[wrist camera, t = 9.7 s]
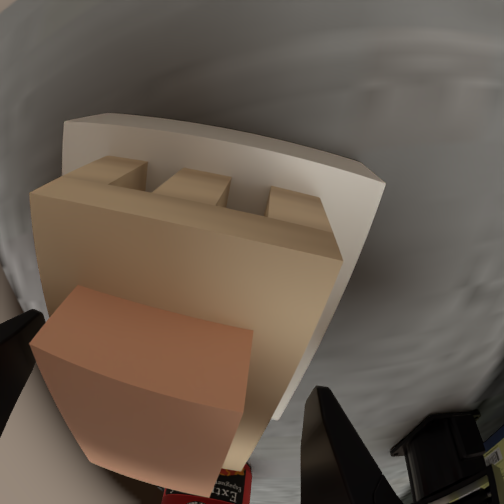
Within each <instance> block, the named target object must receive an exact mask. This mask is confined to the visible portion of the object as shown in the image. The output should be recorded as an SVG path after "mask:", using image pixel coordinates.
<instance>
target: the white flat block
mask: <svg viewBox="0 0 504 504" xmlns="http://www.w3.org/2000/svg"><path fill="white" fill-rule="evenodd" d="M107 155H108V156H115V157H122V158H129V159H135V160H142V161H148V167H147V177H146V189H145V192H151V193H152V192H153V191H154V190H156V189H157V188H158V187H159V186H161V185H162V184H163V183H164V182H166V181H167V180H168V179H169V178H171V177H172V176H173V175H174V174H176V173H177V172H178V171H180V170H181V169H182V168H189V169H194V170H199V171H205V172H210V173H215V174H220V175H225V176H229V177H232V179H231V184H230V189H229V195H228V200H227V205H226V208H229V209H233V210H238V211H243V212H247V213H252V214H256V215H260V216H264V213H265V208H266V204H267V200H268V196H269V192H270V188H271V186H275V187H279V188H283V189H287V190H292V191H296V192H300V193H304V194H308V195H312V196H316V197H319V198H320V199H321V202H322V204H323V207H324V210H325V212H326V215H327V217H328V220H329V223H330V225H331V228H332V231H333V233H334V236H335V239H336V242H337V244H338V247H339V250H340V253H341V255H342V258H343V264H342V266H341V269H340V271H339V274H338V276H337V279H336V281H335V284H334V286H333V289H332V291H331V293H330V296H329V298H328V301H327V303H326V305H325V308H324V310H323V312H322V314H321V317H320V319H319V321H318V324H317V326H316V328H315V330H314V332H313V335H312V337H311V339H310V341H309V343H308V346H307V348H306V350H305V352H304V354H303V356H302V358H301V360H300V363H299V365H298V367H297V369H296V371H295V373H294V375H293V377H292V379H291V381H290V383H289V385H288V387H287V389H286V391H285V393H284V395H283V397H282V399H281V401H280V403H279V404H278V406H277V408H276V410H275V412H274V414H273V416H272V418H271V419H273V420H279V418H280V416H281V415H282V413H283V411H284V410H285V408H286V406H287V404H288V403H289V401H290V399H291V397H292V395H293V394H294V392H295V390H296V388H297V386H298V384H299V383H300V381H301V379H302V377H303V375H304V373H305V371H306V369H307V367H308V366H309V364H310V362H311V360H312V358H313V356H314V354H315V352H316V350H317V348H318V346H319V344H320V342H321V340H322V338H323V336H324V334H325V332H326V330H327V327H328V325H329V323H330V321H331V319H332V317H333V315H334V313H335V310H336V308H337V306H338V304H339V302H340V299H341V297H342V295H343V293H344V291H345V288H346V286H347V284H348V281H349V279H350V277H351V274H352V272H353V270H354V267H355V265H356V262H357V260H358V258H359V255H360V253H361V250H362V248H363V245H364V243H365V240H366V238H367V235H368V232H369V230H370V227H371V224H372V222H373V219H374V216H375V214H376V211H377V208H378V205H379V203H380V200H381V197H382V194H383V191H384V188H385V185H386V183H385V182H384V181H383V180H381V179H380V178H379V177H378V176H377V175H375V174H374V173H373V172H372V171H371V170H369V169H368V168H367V167H366V166H365V165H363V164H362V163H361V162H358V161H355V160H352V159H349V158H345V157H342V156H339V155H335V154H332V153H328V152H325V151H321V150H318V149H314V148H310V147H306V146H303V145H299V144H295V143H291V142H287V141H283V140H278V139H274V138H270V137H266V136H261V135H256V134H252V133H247V132H242V131H237V130H232V129H227V128H222V127H216V126H210V125H204V124H198V123H192V122H186V121H179V120H172V119H164V118H156V117H148V116H139V115H129V114H118V113H104V114H98V115H93V116H87V117H82V118H77V119H72V120H68V121H64V130H63V150H62V176H63V175H65V174H67V173H69V172H71V171H74V170H76V169H78V168H80V167H82V166H84V165H87V164H89V163H91V162H93V161H96V160H98V159H100V158H103V157H105V156H107Z"/></svg>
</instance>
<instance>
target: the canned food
mask: <svg viewBox="0 0 504 504" xmlns="http://www.w3.org/2000/svg"><path fill="white" fill-rule="evenodd" d="M251 482H252V474H251V470H250V467H249V466H248V465H247V464H245V465H244V467H243V469H242V470H241V471H235V470H229V469H223V468H221V471H220V473H219V476H218V478H217V480H216V483H215V485H214V488H213V490H212V492H211V495H210V497H209V498H208V497H203V496H198V495H193V494H189V493H184V492H180V491H176V490H172V489H168V488H165V491H164V495H163V499H162V503H161V504H249V503H250V493H251Z"/></svg>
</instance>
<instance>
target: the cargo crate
mask: <svg viewBox="0 0 504 504" xmlns="http://www.w3.org/2000/svg"><path fill="white" fill-rule="evenodd" d="M252 339H253V330H248V329H243V328H238V327H234V326H229V325H224V324H220V323H216V322H211V321H207V320H203V319H198V318H194V317H190V316H186V315H182V314H178V313H174V312H170V311H166V310H162V309H159V308H155V307H151V306H147V305H144V304H140V303H136V302H133V301H129V300H126V299H122V298H119V297H116V296H112V295H109V294H105V293H102V292H99V291H96V290H92V289H89V288H86V287H83V286H80V285H77V286H76V287H75V288H74V290H73V291H72V292H71V293H70V294H69V295H68V296H67V298H66V299H65V300H64V301H63V302H62V303H61V305H60V306H59V307H58V308H57V309H56V311H55V312H54V313H53V314H52V315H51V317H50V318H49V319H48V320H47V322H46V323H45V324H44V325H43V327H42V328H41V329H40V330H39V332H38V333H37V334H36V335H35V337H34V338H33V339H32V341H31V342H30V343H29V345H30V347H31V350H32V352H33V355H34V357H35V360H36V362H37V364H38V367H39V369H40V371H41V374H42V376H43V378H44V380H45V382H46V384H47V387H48V389H49V391H50V393H51V395H52V397H53V399H54V401H55V403H56V405H57V407H58V409H59V411H60V412H61V414H62V416H63V418H64V420H65V422H66V423H67V425H68V427H69V429H70V430H71V432H72V434H73V436H74V437H75V439H76V441H77V442H78V444H79V445H80V447H81V449H82V450H83V452H84V453H85V455H86V456H87V458H88V459H89V461H90V462H91V463H94V464H96V465H99V466H101V467H104V468H106V469H109V470H112V471H114V472H117V473H120V474H122V475H125V476H128V477H131V478H134V479H138V480H140V481H144V482H147V483H150V484H153V485H157V486H161V487H164V488H168V489H172V490H176V491H180V492H184V493H189V494H193V495H198V496H203V497H208V498H209V497H210V495H211V492H212V490H213V488H214V485H215V483H216V480H217V478H218V476H219V473H220V471H221V468H222V466H223V463H224V461H225V459H226V456H227V454H228V451H229V449H230V446H231V444H232V441H233V439H234V436H235V433H236V431H237V428H238V426H239V423H240V421H241V418H242V415H243V413H244V405H245V397H246V389H247V380H248V372H249V364H250V356H251V347H252Z"/></svg>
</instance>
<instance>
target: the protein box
mask: <svg viewBox="0 0 504 504" xmlns="http://www.w3.org/2000/svg"><path fill="white" fill-rule="evenodd" d="M483 444H484V447H485V454H484V455H483V456H484V459H485V462H486V466H488V465H490V464H491V463H492V464H494V465H495V466H497V467H499V468H500V471H501V474H502V477H503V480H504V425H503V426H502V427H501V428H500V429H499V430H498V431H497V432H496V433H495V434H493V435H492V436H491V437H490V438H489V439H488V440H486V441H485V442H484V443H483ZM488 486H489V482H488V483H486V484H484V485H482V486H480V487H479V488H486V487H488ZM479 488H477V489H479ZM477 489H475V490H473V491H471V492H469V493H467V494H465V495H463V496H461V497H459V498H457V499H455V500H458V499H460V498H462V497H464V496H466V495H468V494H470V493H472V492H474V491H476V490H477ZM455 500H452V501H450V503H451V502H453V501H455Z"/></svg>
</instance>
